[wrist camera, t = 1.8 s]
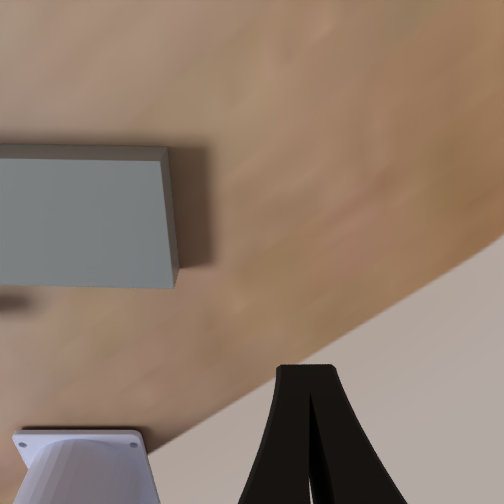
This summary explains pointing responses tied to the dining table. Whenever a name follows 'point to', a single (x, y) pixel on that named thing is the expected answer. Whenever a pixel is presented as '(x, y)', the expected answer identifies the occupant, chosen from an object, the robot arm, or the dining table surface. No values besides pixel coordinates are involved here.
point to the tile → (87, 216)
